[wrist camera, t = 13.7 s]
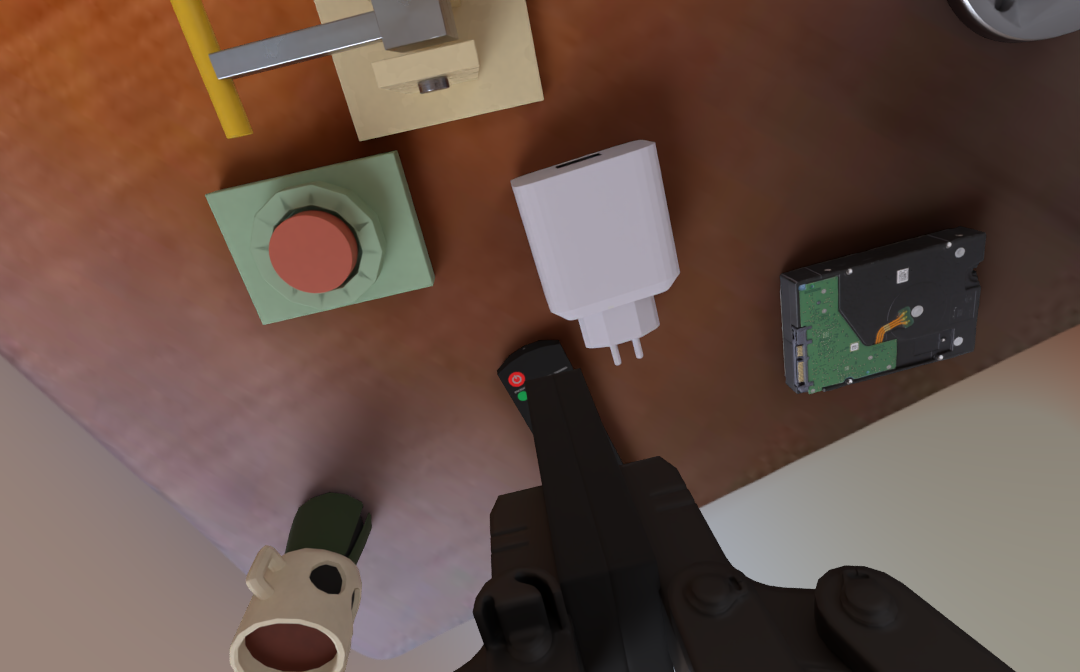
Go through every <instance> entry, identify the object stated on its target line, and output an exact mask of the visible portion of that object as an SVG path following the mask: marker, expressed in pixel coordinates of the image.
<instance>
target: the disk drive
mask: <svg viewBox="0 0 1080 672" xmlns="http://www.w3.org/2000/svg"><path fill="white" fill-rule="evenodd" d="M985 241H986V233H985V232H981V231H978V230H974V229H970V228H965V227H961V226H959V227H957V228H954V229H946V230H943V231H939V232H935V233H931V234H927V235H924V236H920V237H916V238H912V239H908V240H905V241H901V242H897V243H894V244H890V245H886V246H882V247H879V248H875V249H871V250H869V251H865V252H861V253H856V254H852V255H848V256H845V257H841V258H837V259H833V260H829V261H826V262H822V263H818V264H814V265H810V266H807V267H803V268H799V269H796V270H792V271H789V272H787V273H782V274H781V275H780V280H781V286H780V287H781V289H780V296H781V313H782V331H783V349H784V366H785V376H786V384H787V385H788V386H789V387H790V388H791V389H792V390H794V391H795V392H796V393H797V394H799V393H803V392H809V394H810V393H815V392H818V391H821V390H822V391H824V392H825V391H829V390H833V389H837V388H840V387H842V386H846V385H850V384H854V383H858V382H861V381H866V380H869V379H873V378H876V377H880V376H884V375H888V374H891V373H895V372H898V371H903V370H907V369H910V368H914V367H918V366H921V365H925V364H929V363H933V362H936V361H940V360H945V359H950V358H953V357H957V356H959V355H963V354H965V353H969V352H972V351H974V347H975V336H976V326H977V325H976V324H977V316H978V308H979V298H980V291H981V286H980V285H979V281H978V277H977V275H976V271H974V270H973V268H976V267H977V265H978V264H979V262H981V261H983V260H984V251H985V250H984V249H985Z"/></svg>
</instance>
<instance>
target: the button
mask: <svg viewBox="0 0 1080 672" xmlns="http://www.w3.org/2000/svg"><path fill="white" fill-rule="evenodd" d="M269 256H270V260H271V263H272V266H273V268H274V269H275V271H276V273H277V274H278V275H279V276H280V278H281V279H282V280H284V281H285V282H286V283H287V284H289V285H290V286H292V287H293V288H295V289H298V290H300V291H303V292H308V293H324V292H328V291H331V290H333V289H335V288H337V287H338V286H340V285H341V284H342V283H343V282H344V281H345V280H346V279H347V277H348V276H349V275H350V273H351V272H352V270H353V269H354V267H355V265H356V262H357V257H358V247H357V243H356V239H355V237H354V235H353V233H352V231H351V230H350V229H349V227H348V226H347V225H346V224H345V223H344V222H343V221H342V220H340V219H339V218H337V217H336V216H334V215H332V214H330V213H327V212H324V211H318V210H308V211H303V212H299V213H297V214H295V215H293V216H291V217H290V218H288V219H286V220H285V221H283V222H282V223H281V224H280V225H278V226H277V228H276V229H275V230H274V232H273V234H272V236H271V238H270V242H269Z"/></svg>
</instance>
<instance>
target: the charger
mask: <svg viewBox="0 0 1080 672" xmlns="http://www.w3.org/2000/svg"><path fill="white" fill-rule="evenodd" d="M510 182H511V185H512V188H513V192H514V195H515V198H516V202H517V205H518V208H519V211H520V215H521V218H522V221H523V225H524V228H525V231H526V234H527V238H528V241H529V244H530V248H531V251H532V254H533V258H534V261H535V264H536V267H537V271H538V274H539V277H540V281H541V284H542V287H543V291H544V294H545V297H546V300H547V303H548V305H549V308H550V311H551V312H552V313H554V314H556V315H559V316H561V317H563V318H565V319H567V320H575V319H578V320H579V324H580V328H581V331H582V335H583V338H584V342H585V345H586V347H587V348H599V347H610V348H611V352H612V355H613V359H614V363H615V365H620V364H621V358H620V354H619V351H618V347H617V344H620V343H624V342H627V341H630V340H632V341H633V345H634V349H635V353H636V357H637V358H642V357H643V352H642V348H641V344H640V340H639V338H640V337H643V336H644V335H646V334H648V333H649V332H651V331H653V330H654V329H656V328H657V327H658V326H659V325H660V323H659V319H658V314H657V309H656V305H655V300H654V296H653V295H656V294H659V293H662V292H665V291H667V290H668V289H669V288H670V286H671V285H672V284H673V282H674V281H675V279H676V278H677V276H678V275H679V273H680V270H679V265H678V260H677V255H676V249H675V244H674V239H673V234H672V228H671V223H670V218H669V213H668V207H667V202H666V197H665V192H664V186H663V181H662V176H661V171H660V165H659V160H658V155H657V150H656V144H655V142H651V141H646V140H636V141H632V142H628V143H625V144H621V145H618V146H614V147H611V148H608V149H605V150H602V151H599V152H595V153H592V154H589V155H586V156H583V157H580V158H576V159H573V160H570V161H567V162H564V163H561V164H558V165H554V166H551V167H548V168H545V169H542V170H539V171H535V172H532V173H529V174H526V175H523V176H521V177H518V178H515V179H513V180H511V181H510Z"/></svg>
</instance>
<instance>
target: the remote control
mask: <svg viewBox="0 0 1080 672" xmlns="http://www.w3.org/2000/svg"><path fill="white" fill-rule="evenodd" d="M570 370H574V369H573V367H572V365H571V363H570V361H569V359H568V358H567V356H566V354H565V352H564V350H563V348H562V346H561V344H560V342H559V340H540V341H537V342H534V343H531V344H528V345H525V346H523V347H521V348H520V349H518V350H517V351H515V352H514V353H512V354H511V355H509V357H508V358H507V359H506V360H505V361H504V363H503V364H502V365H501V366H500V368H499V369H498V370H497V374H498V376H499V378H500V380H501V381H502V383H503V385H504V386H505V388H506V390H507V391H508V393H509V395H510V396H511V398H512V400H513V401H514V403H515V405H516V406H517V408H518V410H519V411H520V413H521V415H522V417H523V418H524V420H525V422H526V423H527V425H528V427H529V428H530V430H531V432H532V433H533V430H532V424H531V418H530V412H529V407H528V401H527V395H526V389H525V384H524V381H527V380H532V379H536V378H540V377H544V376H549V375H553V374H557V373H562V372H566V371H570ZM603 427H604V426H603ZM604 429H605V428H604ZM605 432H606V430H605ZM606 434H607V432H606ZM607 437H608V439H609V442H610V444H611V447H612V449H613V452H614V455H615V457H616V460H617V462H618V465H623V463H622V461H621V459H620V457H619V455H618V453H617V451H616V449H615V448H614V446H613V444H612V442H611V440H610V438H609V436H608V434H607Z"/></svg>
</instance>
